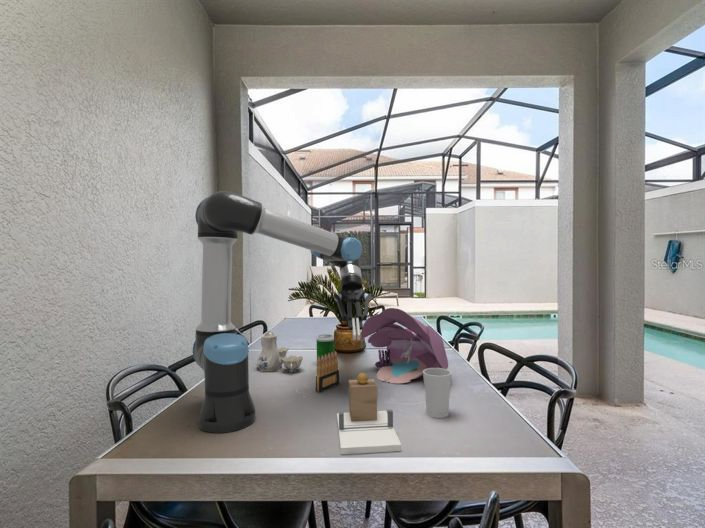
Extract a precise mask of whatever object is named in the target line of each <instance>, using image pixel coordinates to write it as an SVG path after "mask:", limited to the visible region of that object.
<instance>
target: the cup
mask: <svg viewBox="0 0 705 528" xmlns="http://www.w3.org/2000/svg"><path fill="white" fill-rule="evenodd" d="M422 376H423V377H422V378H423V383H424V394H425V405H426V409H425V411H426V415H427V416H428V417H432V418H435V419H442V418H443V419H444V418H447V417H448V416H450V414H449V413H450V410H449V408H450V396H451V381H452V371H451V370H449V369H448V368H447V369H442V368H428V369H425V370H423V375H422Z"/></svg>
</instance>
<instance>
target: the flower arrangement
mask: <svg viewBox="0 0 705 528" xmlns="http://www.w3.org/2000/svg"><path fill="white" fill-rule="evenodd" d="M402 326H403V327H402ZM367 337H368V339H367V343H368V344H370V345H371V346H372V347H373V348H385V347H386V350H384V349H378V359H379V360H378V361H376V362H375V364H374V366H375V367H376V369H378V371H377V373H376V378H377V379H378V380H379V381H382V382H385V381H388V382H390V383H389V384H405V383H410V382H411V380H415V379H418V378H420V377H422V376H423V370H425V369H428V368H442V369H447V370H448V368H449V361H448V357H447V352H446V347H445V345H444V340H443V338H442V336H441V335H440V334H439V333H438V332H437V331H436V330H435V329H434V328H433V327H432V326H431V325H425V324H424V323H422V322H421V321H420V320H418V319H417V318H415V317H413V316H411V315H410V314H409V313H407V312H406V311H404V310H402V309H399V308H396V307H389V308H385V309H384V310H382V311H381V312H379V313H376V314H374V315H372V316H369V317H367V320H366V321H365V322H364V323H363V328H362V330H361V331H360V339H361V340H363V339H365V338H367ZM388 382H387V383H388Z"/></svg>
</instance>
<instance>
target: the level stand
mask: <svg viewBox="0 0 705 528" xmlns="http://www.w3.org/2000/svg"><path fill="white" fill-rule="evenodd" d="M336 420H337V421H336V422H337V429H338V440H339V447H340V455H356V454H357V455H359V454H373V453H390V452H392V453H394V452H402V443H401V441H400V438H399V437H398V434H397V432H396V429H395V428H394V411H393V409H387V410H379V411H378V410H377V420H358V421H351V418H350V413H349V412H344V411H342V412H341V411H339V412H337V413H336Z"/></svg>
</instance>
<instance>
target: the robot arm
mask: <svg viewBox="0 0 705 528" xmlns="http://www.w3.org/2000/svg"><path fill="white" fill-rule="evenodd" d="M194 215H195V216H194V217H195V218H194V219H195V222H196V225H197V239H198V241H199V242H200V243H202V273H201V274H202V275H201V313H200V315H201V316H200V317H201V319H200V321H201V322H200V324H199V325H197V326H196V327H195V340H194V342H193V345H192V357H193V360H194V361H195V363H196V364H197V366H199V367H200V368H201V369H202V371H203V373H204V398H203V401H202V404H201V409H200V411H199V415H198V427H199V429H201V430H202V431H204V432H207V433H215V434H216V433H219V434H220V433H229V432H230V433H231V432H234V431H238V430H241V429H244V428H246V427H248V426H250V425H252V424H253V423H254V422H255V420H256V419H257V415H256V414H257V413H256V411H257V410H256V407H255V404H254V402H253V398H252V395H251V392H250V387H249V383H250V381H249V380H250V379H249V352H250V351H249V344H248V340H247V338H246V337H245V336H243V335H241V334H238V333H237V334H236V331H237V330H236V328H237V327H236V326H235V325H234V324H233V323H232V319H231V317H232V280H233V277H232V275H233V271H232V270H233V245H234V244H235V243H236V242H237V241H238V236H239V234H238V232H239V233H245V234H249V235H251V236H252V235H254V234H260V235H263V236H266V237H268V238H271V239H275V240H278V241H281V242H284V243H287V244H290V245H294V246H298V247H299V248H303V249H306V250H309V251H310V253H311V254H312V255H313V256H315V257H316V258H317V259H321V260H323V261H325V262H327V263H329V264H331V265H333V266H335V267H338V268H339V273H340V274H339V276H340V288H341V290H340V293H338V294H337V293H335V294H334V296H333V297H334V298H333V299H334V302H335V303H336V304H337V308H338V310H339V313H340V316H341V319H342V321H343V322H347V324H348V330H349V331H352V332H351V333H352V341H356V340H357V341H360V340H361V331H362V328H363V325H364V323H363V322H364V321H365V322H366V320H367V319H368V312H369V305H370V302H371V300H372V297H373V295H372V293H366V291H365V290H364V286H363V285H364V284H363V280H362V278H363V276H362V271H361V260H360V259H361V256H362V253H363V246H362V242H361V241H360V240H359V239H358V238H355V237H349V236H348V237H345V236H343V235H341V234H340V235H339V234H336V233H333V232H331V231H329V230H326V229H323V228H320V227H318V226H315V225H312V224H310V223H308V222H304V221H301V220H298V219H296V218H292V217H290V216H289V215H288V216H287V215H284V214H281V213H279V212H277V211H274V210H271V209H268V208H266V207H264V204H263V203H262V202H259V201H256V200H254V199H252V198H249V197H247V196H243V195H241V194H238V193H236V192H233V191H228V190H220V191H217V192H216V191H215V192H214V193H212V194H211V195H209V196H208V197H204V199H202V200H201V201H200V202H199V204H198V205H197V207H196V209H195V214H194ZM363 298H364V301H365V302H364V308H363V314H362V308H361V301H362V299H363ZM342 299H343V301H345V302H346V303H347V304H346V307H347V313H346V309H345V307H344V304H343V301H342ZM352 304H355V311H356V317H355V318H356V319H355V318H354V317H353V310H352V309H353V308H352Z"/></svg>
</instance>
